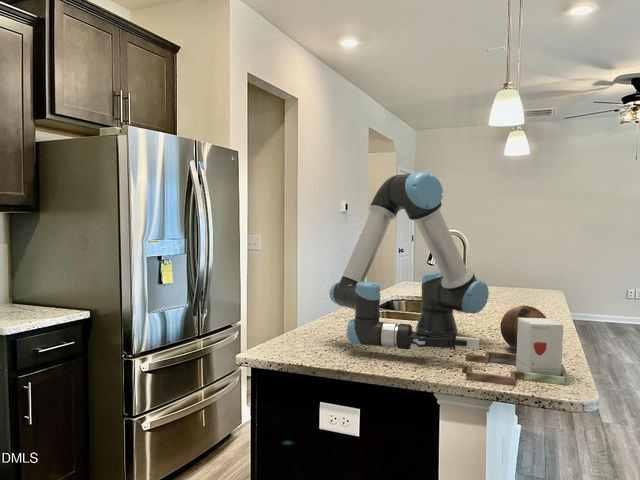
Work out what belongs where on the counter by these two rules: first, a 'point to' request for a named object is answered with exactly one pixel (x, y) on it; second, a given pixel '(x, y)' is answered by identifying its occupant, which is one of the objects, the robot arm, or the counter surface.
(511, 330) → the wooden sphere
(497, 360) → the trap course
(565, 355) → the counter surface
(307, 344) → the counter surface
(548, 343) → the supplement box
